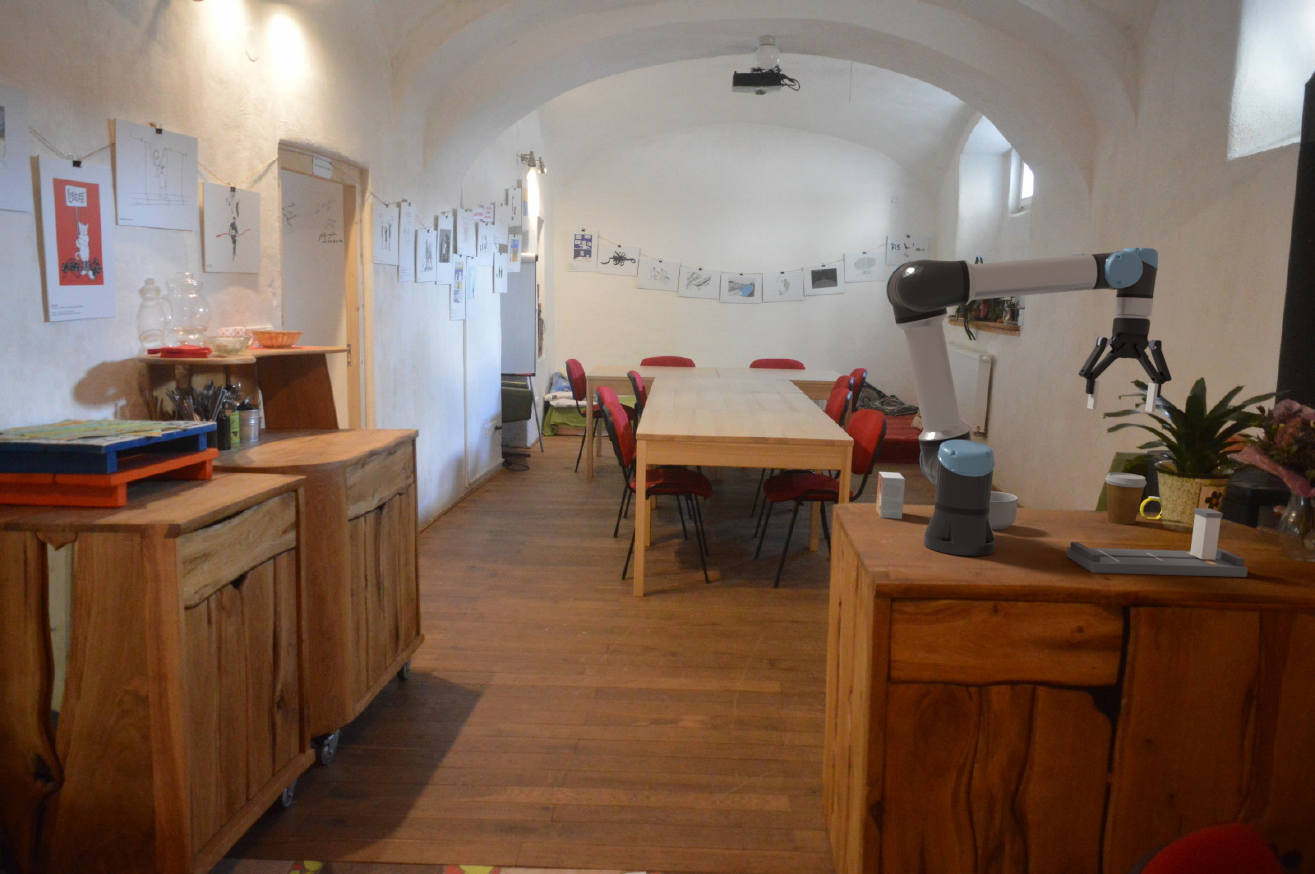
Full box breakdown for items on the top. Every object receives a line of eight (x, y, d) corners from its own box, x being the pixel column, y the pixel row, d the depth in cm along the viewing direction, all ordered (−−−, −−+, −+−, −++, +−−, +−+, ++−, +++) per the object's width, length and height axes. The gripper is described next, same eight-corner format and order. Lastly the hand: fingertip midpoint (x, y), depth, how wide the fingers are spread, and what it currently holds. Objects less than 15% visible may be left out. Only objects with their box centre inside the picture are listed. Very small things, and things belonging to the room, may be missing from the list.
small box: (875, 510, 238) (878, 471, 237) (897, 512, 238) (900, 472, 236) (879, 518, 230) (882, 477, 229) (902, 519, 230) (905, 478, 228)
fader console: (1092, 572, 188) (1094, 556, 187) (1066, 556, 200) (1067, 540, 199) (1246, 576, 188) (1248, 560, 188) (1211, 560, 200) (1213, 544, 200)
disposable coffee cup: (1138, 519, 238) (1143, 474, 236) (1145, 527, 229) (1150, 480, 227) (1098, 515, 241) (1103, 471, 239) (1103, 523, 232) (1108, 477, 230)
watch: (1159, 519, 240) (1163, 497, 239) (1164, 521, 237) (1169, 499, 236) (1136, 516, 240) (1140, 494, 239) (1142, 519, 237) (1146, 497, 236)
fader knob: (1200, 559, 191) (1206, 512, 190) (1188, 553, 196) (1194, 508, 194) (1216, 559, 192) (1222, 513, 190) (1204, 554, 196) (1210, 508, 194)
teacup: (1021, 533, 219) (1024, 500, 218) (976, 531, 220) (979, 499, 218) (1001, 519, 233) (1004, 488, 232) (958, 517, 233) (961, 487, 232)
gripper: (1177, 319, 211) (1165, 410, 214) (1070, 314, 211) (1059, 405, 214) (1196, 320, 204) (1183, 414, 207) (1085, 314, 203) (1074, 409, 206)
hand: (1120, 410), depth 210 cm, fingers open, 13 cm apart
